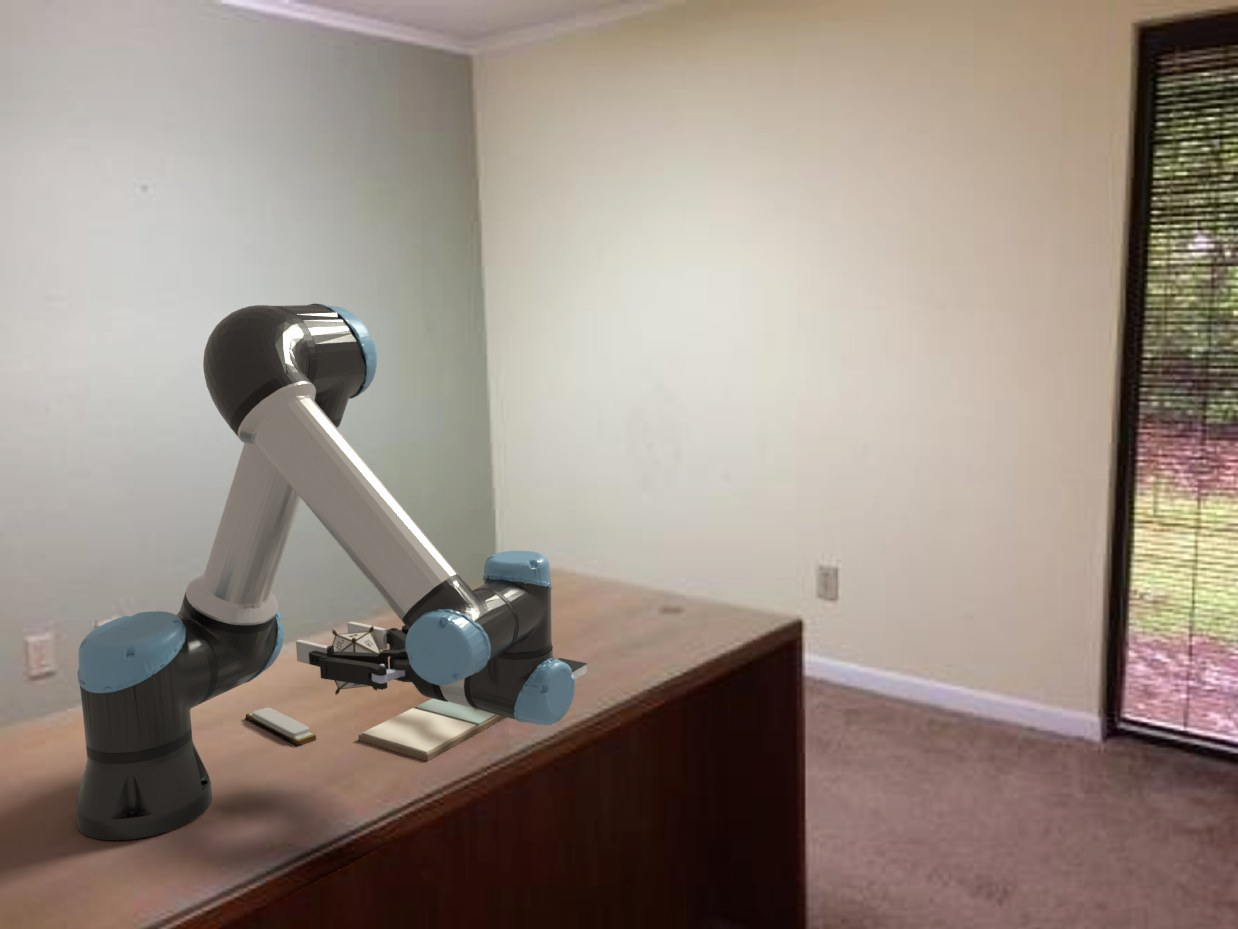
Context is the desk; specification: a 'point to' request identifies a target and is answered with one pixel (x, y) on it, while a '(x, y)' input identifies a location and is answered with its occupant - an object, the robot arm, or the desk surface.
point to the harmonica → (281, 726)
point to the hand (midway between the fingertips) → (325, 640)
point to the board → (429, 728)
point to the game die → (354, 650)
